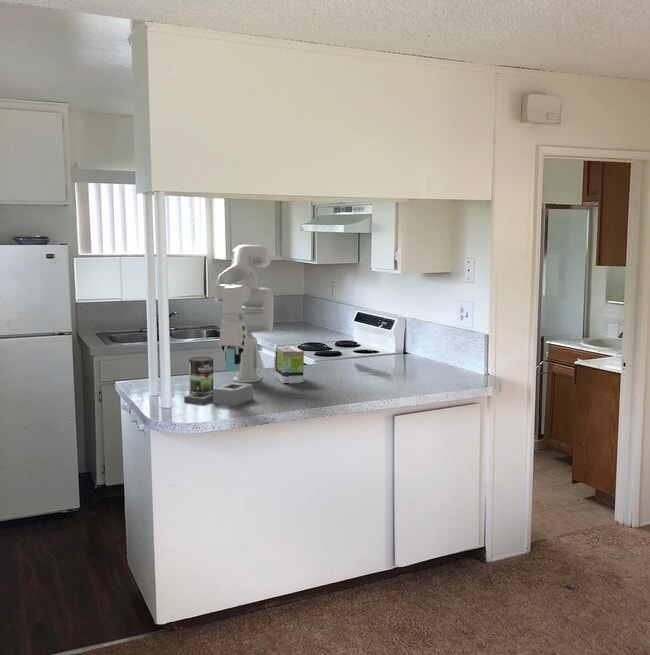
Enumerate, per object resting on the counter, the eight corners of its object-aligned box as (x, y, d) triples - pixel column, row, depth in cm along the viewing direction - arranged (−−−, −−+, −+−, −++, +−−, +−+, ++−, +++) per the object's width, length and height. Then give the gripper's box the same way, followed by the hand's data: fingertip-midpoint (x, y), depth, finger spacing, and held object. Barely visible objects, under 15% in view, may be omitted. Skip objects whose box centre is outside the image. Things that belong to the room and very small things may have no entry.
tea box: (304, 383, 320) (304, 350, 318) (282, 384, 317) (282, 351, 315) (295, 376, 334) (295, 345, 332) (274, 377, 331) (274, 346, 329)
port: (231, 396, 293) (231, 381, 292) (252, 398, 289) (252, 383, 288) (213, 403, 280) (212, 387, 279) (235, 406, 276) (235, 390, 275)
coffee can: (218, 392, 300) (217, 359, 298) (195, 395, 294) (195, 361, 292) (206, 387, 308) (206, 355, 306) (184, 390, 302) (184, 357, 300)
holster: (198, 396, 291) (198, 391, 291) (217, 399, 287) (217, 393, 287) (184, 402, 282) (184, 396, 282) (203, 404, 278) (203, 399, 278)
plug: (232, 370, 285) (233, 342, 285) (239, 370, 284) (240, 343, 283) (225, 371, 281) (226, 343, 280) (233, 371, 279) (234, 344, 279)
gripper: (255, 317, 280) (255, 363, 282) (220, 315, 286) (220, 360, 289) (246, 319, 273) (246, 366, 275) (209, 317, 280) (210, 363, 282)
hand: (233, 363), depth 282 cm, fingers closed on plug, 3 cm apart
